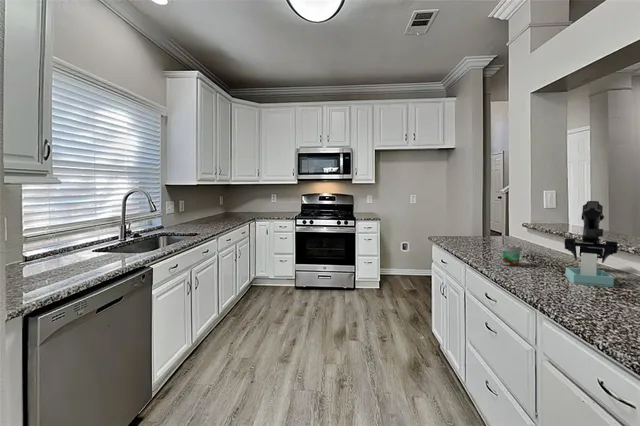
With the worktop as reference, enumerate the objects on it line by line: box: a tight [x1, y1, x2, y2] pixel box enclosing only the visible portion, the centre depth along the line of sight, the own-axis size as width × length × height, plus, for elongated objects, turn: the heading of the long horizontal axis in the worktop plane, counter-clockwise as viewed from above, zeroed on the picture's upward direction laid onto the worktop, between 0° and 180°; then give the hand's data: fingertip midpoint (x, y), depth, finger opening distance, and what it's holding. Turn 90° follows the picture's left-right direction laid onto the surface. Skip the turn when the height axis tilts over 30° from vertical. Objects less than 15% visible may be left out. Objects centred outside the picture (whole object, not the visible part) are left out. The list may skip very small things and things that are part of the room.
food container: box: [502, 244, 523, 267], centre depth 183 cm, size 12×6×10 cm, turn 123°
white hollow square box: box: [580, 253, 598, 276], centre depth 151 cm, size 5×5×11 cm
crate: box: [565, 267, 615, 288], centre depth 152 cm, size 14×14×4 cm
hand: (589, 261), depth 153 cm, fingers open, 9 cm apart
